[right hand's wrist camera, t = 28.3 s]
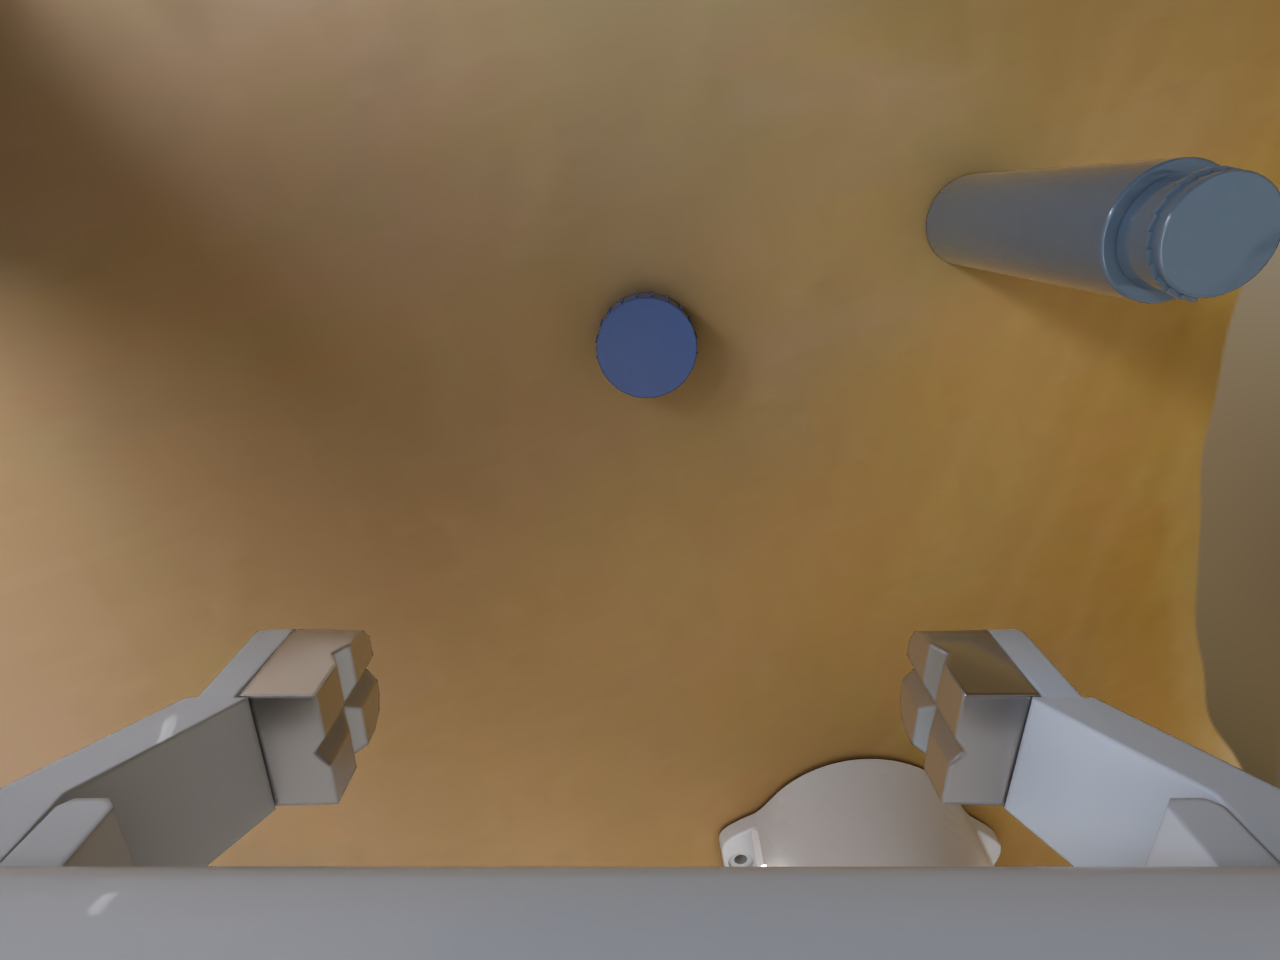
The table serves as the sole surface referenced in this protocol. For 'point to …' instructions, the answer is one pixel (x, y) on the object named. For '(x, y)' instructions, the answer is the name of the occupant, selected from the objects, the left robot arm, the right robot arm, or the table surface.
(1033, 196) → the jar
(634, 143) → the table surface
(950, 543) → the table surface
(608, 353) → the lid
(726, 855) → the left robot arm
